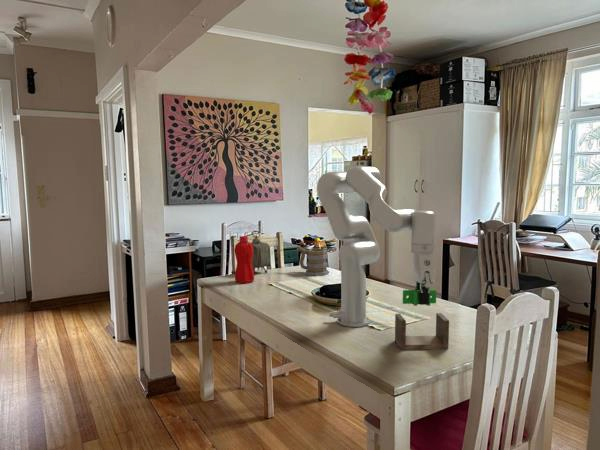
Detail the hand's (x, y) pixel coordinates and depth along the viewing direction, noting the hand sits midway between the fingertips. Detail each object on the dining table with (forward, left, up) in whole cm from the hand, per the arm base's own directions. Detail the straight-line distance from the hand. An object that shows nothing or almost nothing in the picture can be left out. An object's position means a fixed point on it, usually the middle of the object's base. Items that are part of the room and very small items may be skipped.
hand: (421, 301), depth 149 cm
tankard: (-31, +114, -15) cm, 119 cm away
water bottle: (-68, +93, -15) cm, 116 cm away
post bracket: (0, 0, -15) cm, 15 cm away
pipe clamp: (0, 0, -1) cm, 1 cm away
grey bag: (-64, +116, -15) cm, 134 cm away
